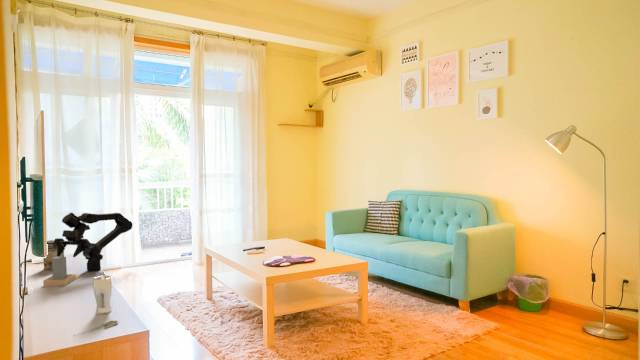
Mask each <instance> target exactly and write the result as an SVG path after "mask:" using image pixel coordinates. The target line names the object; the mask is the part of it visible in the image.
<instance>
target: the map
mask: <svg viewBox="0 0 640 360" xmlns="http://www.w3.org/2000/svg"><path fill="white" fill-rule="evenodd" d="M116 325H118V320H109V321H107V322H105V323H103V324H101V325H100V327H103V331H104V330H106V329H109V328H111V327H113V326H116ZM73 336H74V337H75V334H73Z"/></svg>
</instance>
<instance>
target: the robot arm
mask: <svg viewBox="0 0 640 360" xmlns="http://www.w3.org/2000/svg"><path fill="white" fill-rule="evenodd" d="M113 220H114V222H115V228H114V229H112V230H111V231H109V233H107V234H106V235H105V236H104V237H102V238H101V239H99V240H98V241H97V242H96V243H94V242H93V243H92V242H90V240H89V239H88V238H84V237H85V236H84V234H85V232H86V231H88V230H91V228H90V225H89V224H94V223H97V222H101V221H103V222H104V221H113ZM61 222H62V223H63V224H65V225H66V226H67V227H69V228H70V229H72V228H73V230H69V229H68V230H66V229H64V230H62V237H64V238H65V239H64V238H61V237H60V238H57V237H56V238H54V240H53V241H54V243H55V244H56V246H57V256H58V257H59V256H60V255H61V253H62V252H63V251H64V252H65V249H66V248H67V246H70V245H72V246H76V248H75V251H74V252H73V255H72V257H73V258H76V257H77V256H78V255H79V254H81V253H82V256H83V257H85V260H87V262H86V270H87V272H96V271H97V272H98V271H101V269H102V267H101V266H102V265H101V261H102V260H103V257H104V255H102V254H101V252H102V250H103V249H104V248H105V247H107V245H108V244H110V243H112V241H114V240H115V239H116V238H118V237H119V236H120V235H121V234H123V233H127V232H129V231H130V230H132V229H133V223H132V221H130V220H129V219H128V218H127V217H125V216H124V215H123V214H122V213H121V212H120V213H119V212H113V213H97V214H96V213H90V212H89V213H88V212H83V213H82V214H81V215H79V216H77V215H76V214H74V212H69V213H68V214H66V215H65V216H64V217H62V219H61Z"/></svg>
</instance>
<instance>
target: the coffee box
mask: <svg viewBox="0 0 640 360" xmlns="http://www.w3.org/2000/svg"><path fill="white" fill-rule="evenodd" d="M46 242H47V244H48V255H47V257H46V258H43V257H42V259H43V270H51V271H52V258H54V257H57V246H56V244H55V243H54V240H50V239H49V240H48V241H46ZM59 257H65V250H64V251H63V252H62V253H61V255H60V256H59Z"/></svg>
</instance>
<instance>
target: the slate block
mask: <svg viewBox="0 0 640 360" xmlns="http://www.w3.org/2000/svg"><path fill="white" fill-rule="evenodd" d="M67 268H68V267H67V256H64V257H58V256H57V257H54V258H52V270H51V271H52V276H53V280H65V279H67V274H68V272H67Z"/></svg>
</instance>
